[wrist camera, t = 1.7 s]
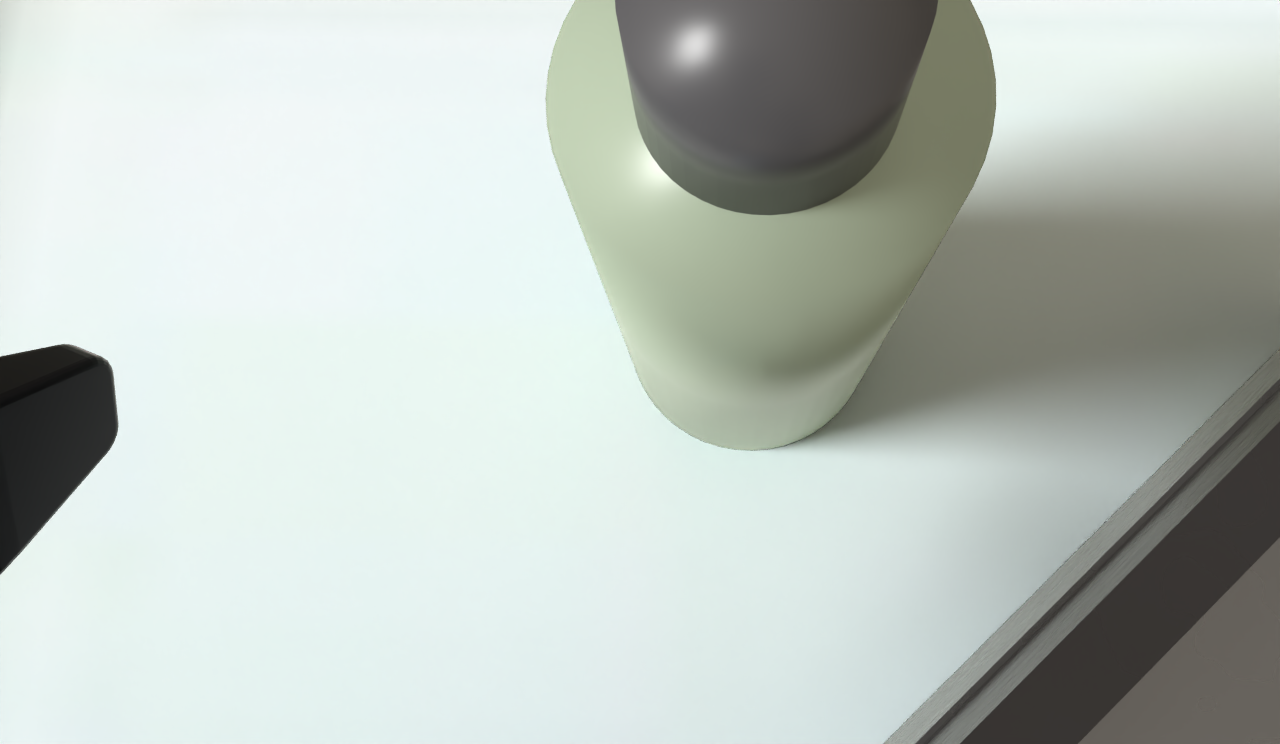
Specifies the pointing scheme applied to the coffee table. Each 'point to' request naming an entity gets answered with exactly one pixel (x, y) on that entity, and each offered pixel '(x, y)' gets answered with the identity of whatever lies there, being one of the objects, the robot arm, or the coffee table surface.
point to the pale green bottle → (765, 188)
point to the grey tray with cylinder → (1147, 611)
